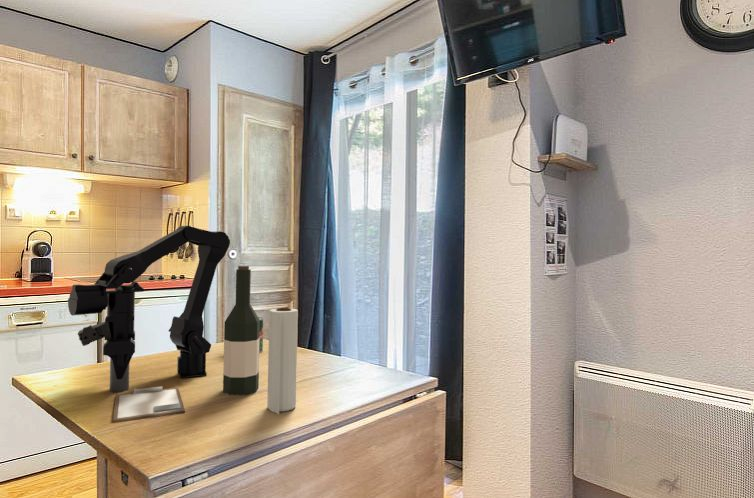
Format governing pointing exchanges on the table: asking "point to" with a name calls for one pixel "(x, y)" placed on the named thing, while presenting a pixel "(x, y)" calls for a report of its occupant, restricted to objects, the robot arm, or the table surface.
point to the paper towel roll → (282, 359)
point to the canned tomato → (261, 335)
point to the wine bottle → (241, 341)
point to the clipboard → (147, 403)
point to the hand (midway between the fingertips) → (119, 376)
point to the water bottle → (118, 380)
